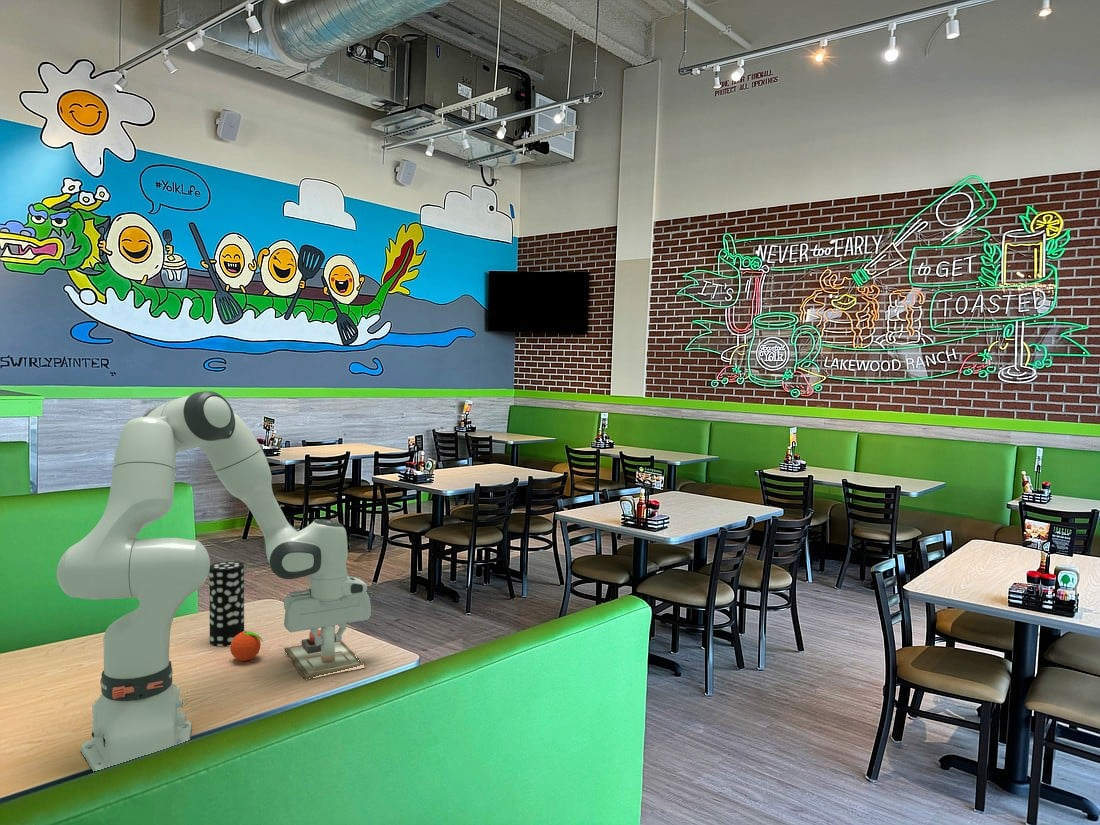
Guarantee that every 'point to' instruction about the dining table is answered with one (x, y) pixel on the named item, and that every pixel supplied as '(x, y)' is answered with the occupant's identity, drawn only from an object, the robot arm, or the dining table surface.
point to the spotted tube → (226, 601)
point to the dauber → (328, 643)
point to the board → (310, 659)
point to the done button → (311, 637)
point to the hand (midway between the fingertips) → (328, 643)
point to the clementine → (245, 645)
